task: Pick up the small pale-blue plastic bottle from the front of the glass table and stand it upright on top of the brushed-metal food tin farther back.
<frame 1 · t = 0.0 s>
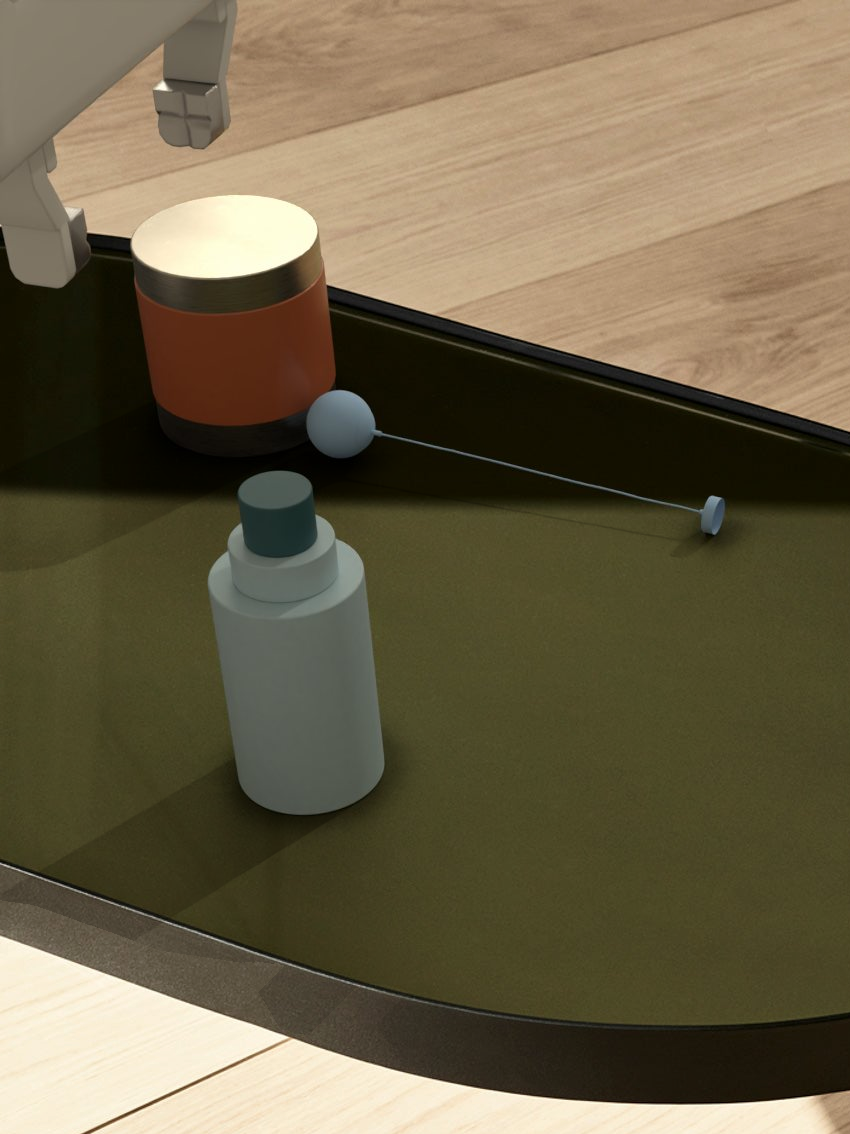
hand: (128, 203, 68), 26 cm above the table, tool pointing down, fingers open, 8 cm apart
bottle: (311, 769, 89), on the table
ball ended pin: (510, 492, 104), on the table
tin: (248, 412, 109), on the table
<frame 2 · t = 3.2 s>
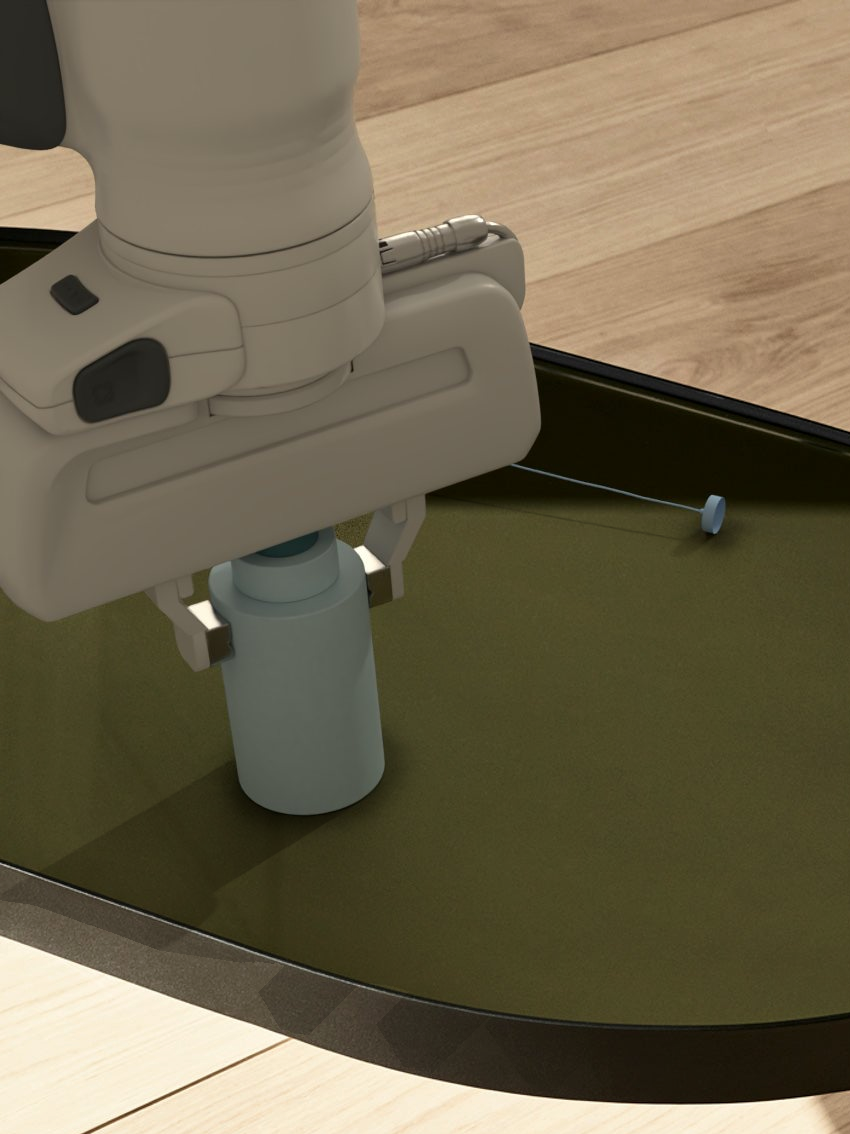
hand: (292, 627, 84), 7 cm above the table, tool pointing down, fingers closed on bottle, 5 cm apart
bottle: (311, 769, 89), on the table, touching gripper
everything else where it was.
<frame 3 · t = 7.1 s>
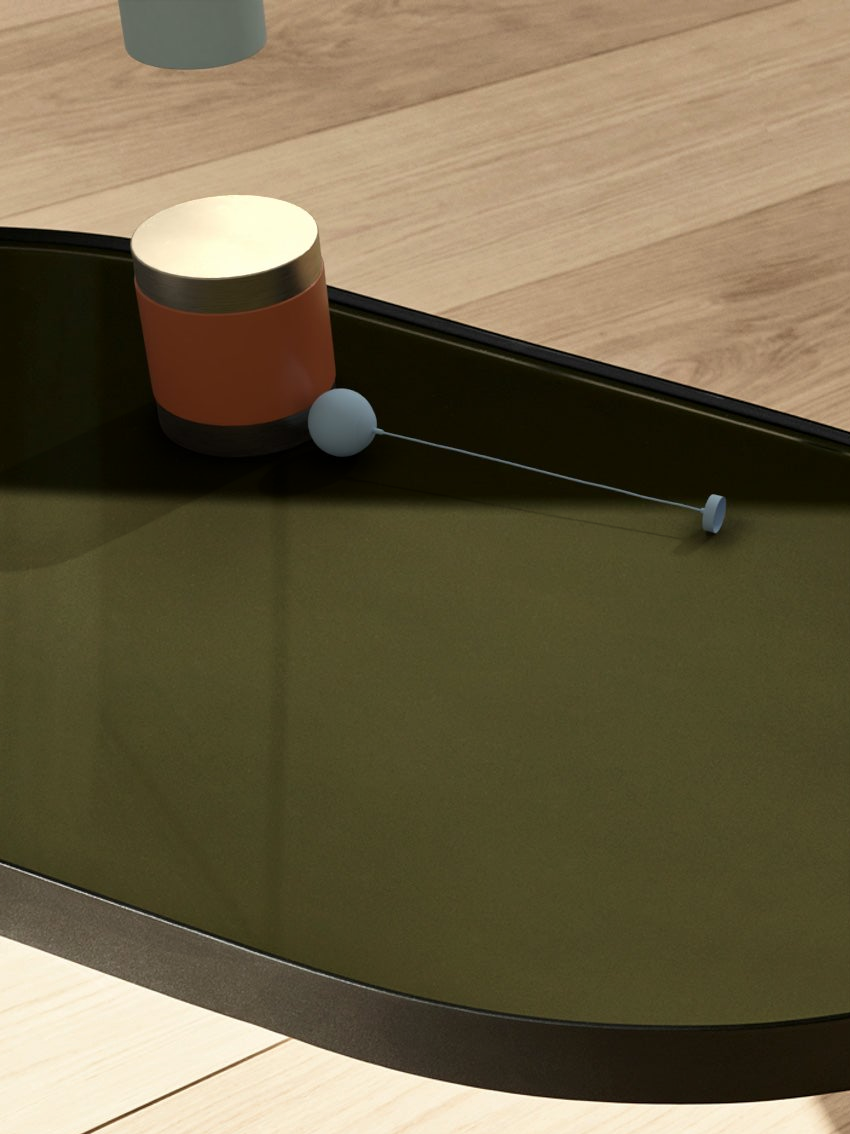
bottle: (196, 42, 92), point 20 cm above the table, touching gripper
everything else where it was.
when the fingers open (15 cm above the table, at t = 10.9 s): bottle stays where it is, resting on tin.
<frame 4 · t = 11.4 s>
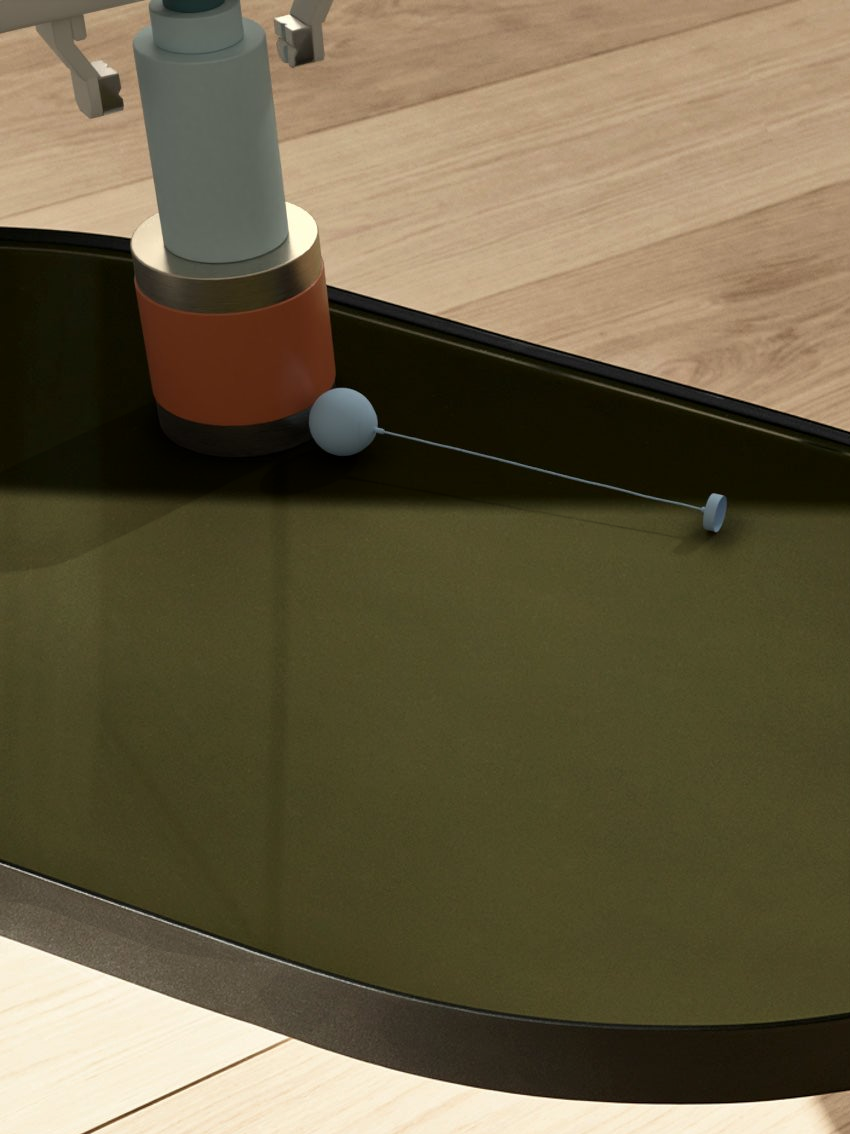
hand: (203, 85, 99), 16 cm above the table, tool pointing down, fingers open, 8 cm apart
bottle: (226, 235, 104), point 9 cm above the table, touching tin
tin: (248, 412, 109), on the table, touching bottle
everything else where it was.
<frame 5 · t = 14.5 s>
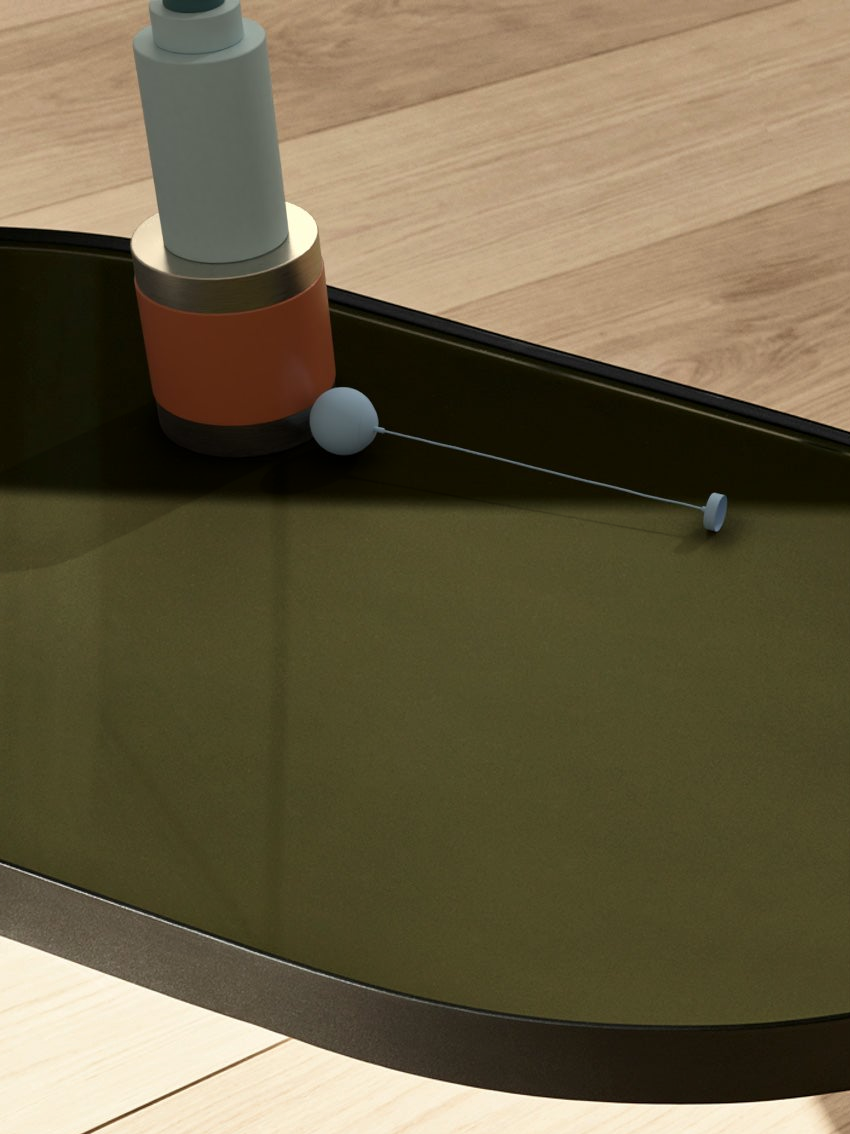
nothing on the table moved.
at the end: bottle 0.1 cm off-centre on the tin, point 9.0 cm above the tin's base; bottle tilted 0°; the gripper is holding nothing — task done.
